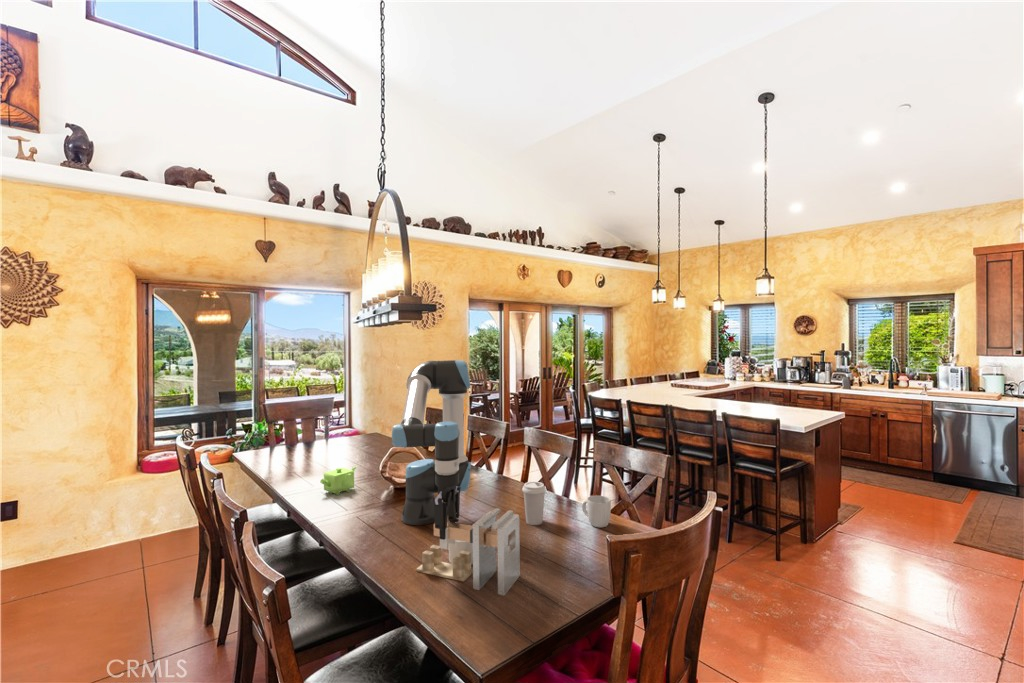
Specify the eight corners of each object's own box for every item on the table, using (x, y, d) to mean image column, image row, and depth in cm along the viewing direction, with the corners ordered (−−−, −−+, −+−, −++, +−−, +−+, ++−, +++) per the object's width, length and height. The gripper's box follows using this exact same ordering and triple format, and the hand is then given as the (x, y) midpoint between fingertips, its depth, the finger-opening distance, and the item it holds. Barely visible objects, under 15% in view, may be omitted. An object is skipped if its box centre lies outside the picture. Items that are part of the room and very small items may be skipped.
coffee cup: (544, 527, 181) (544, 489, 181) (520, 525, 183) (520, 487, 183) (547, 518, 191) (547, 481, 191) (524, 516, 193) (524, 480, 193)
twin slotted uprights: (473, 588, 138) (472, 521, 137) (490, 569, 149) (490, 507, 149) (504, 595, 134) (503, 526, 134) (519, 575, 145) (519, 511, 145)
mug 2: (615, 524, 183) (615, 499, 183) (601, 531, 178) (600, 505, 177) (590, 515, 193) (589, 491, 193) (575, 521, 187) (575, 496, 187)
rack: (416, 571, 148) (416, 552, 148) (428, 561, 155) (428, 543, 155) (463, 581, 142) (463, 561, 142) (474, 570, 148) (474, 552, 148)
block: (433, 536, 147) (433, 524, 147) (439, 531, 151) (439, 519, 151) (502, 548, 138) (502, 536, 138) (508, 543, 142) (507, 531, 142)
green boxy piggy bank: (357, 485, 235) (357, 463, 235) (353, 495, 221) (353, 471, 221) (326, 487, 232) (325, 465, 232) (320, 497, 218) (319, 473, 218)
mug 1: (466, 569, 149) (466, 544, 149) (441, 561, 155) (441, 537, 155) (490, 553, 160) (490, 529, 160) (466, 546, 166) (466, 523, 166)
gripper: (443, 480, 138) (444, 559, 138) (470, 466, 154) (470, 537, 154) (422, 477, 141) (422, 554, 141) (450, 463, 157) (450, 533, 157)
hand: (447, 545), depth 148 cm, fingers closed on block, 4 cm apart
